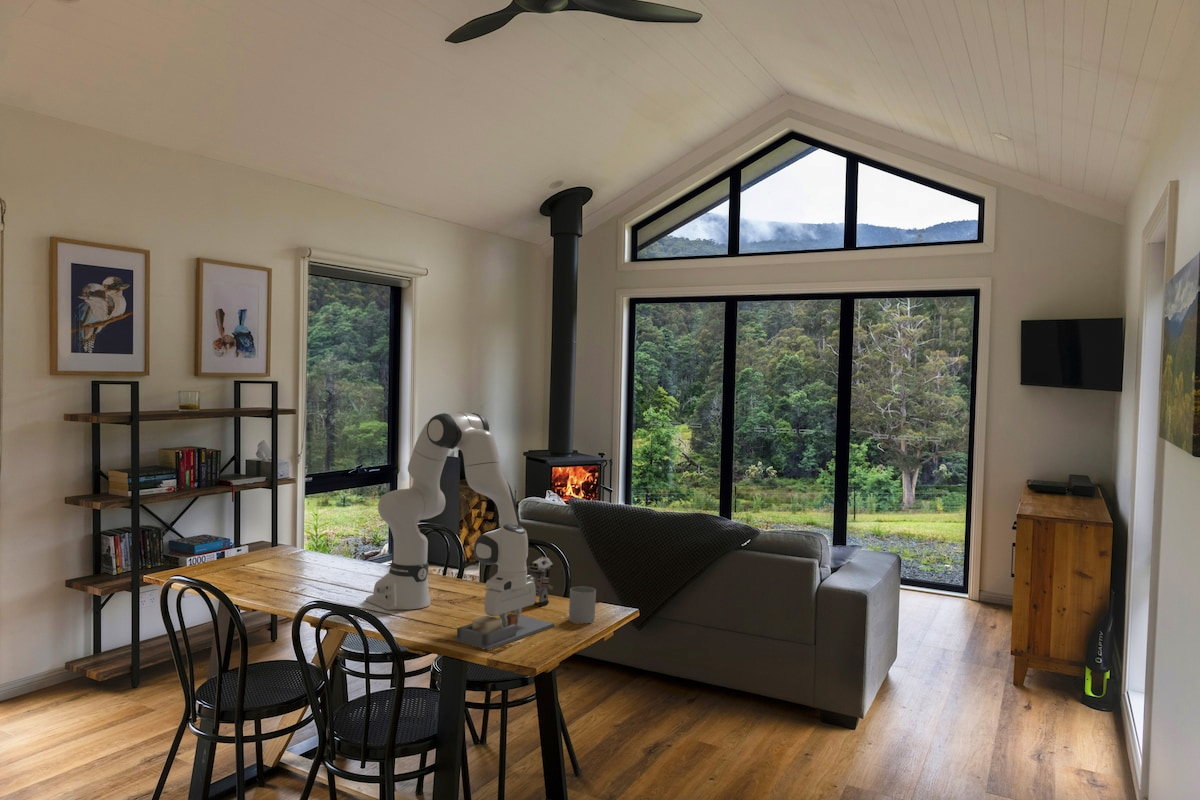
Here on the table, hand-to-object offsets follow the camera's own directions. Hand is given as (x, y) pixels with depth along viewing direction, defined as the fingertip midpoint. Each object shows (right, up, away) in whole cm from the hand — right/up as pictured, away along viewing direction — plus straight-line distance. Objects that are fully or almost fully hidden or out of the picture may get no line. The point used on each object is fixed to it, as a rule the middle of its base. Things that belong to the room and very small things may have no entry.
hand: (510, 624), depth 248 cm
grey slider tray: (-1, -2, -2) cm, 3 cm away
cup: (+21, -3, +16) cm, 27 cm away
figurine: (+6, -2, +36) cm, 36 cm away
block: (-3, -1, -5) cm, 6 cm away
